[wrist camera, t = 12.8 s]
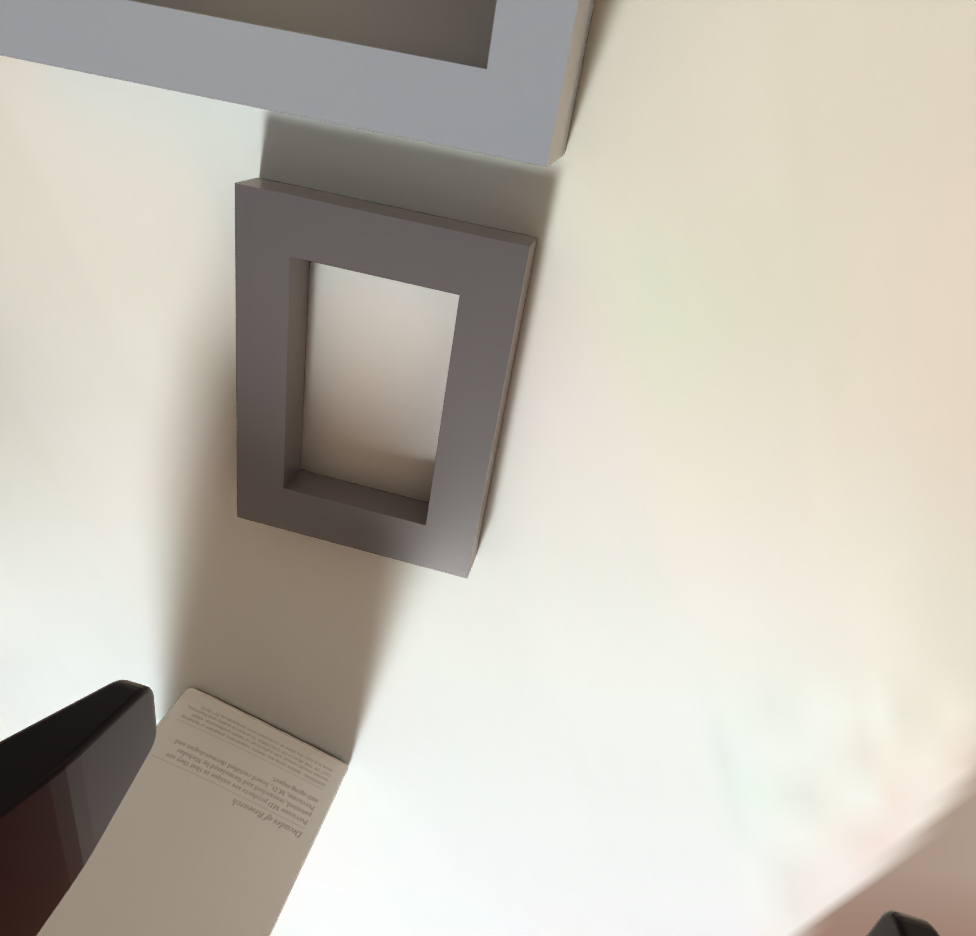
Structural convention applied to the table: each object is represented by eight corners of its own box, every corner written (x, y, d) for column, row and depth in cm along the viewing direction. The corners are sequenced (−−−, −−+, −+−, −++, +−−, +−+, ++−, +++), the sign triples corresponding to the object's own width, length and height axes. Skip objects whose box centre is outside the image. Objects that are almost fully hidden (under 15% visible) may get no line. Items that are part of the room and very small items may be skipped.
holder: (255, 498, 24) (237, 516, 23) (258, 177, 19) (234, 183, 18) (476, 556, 23) (467, 578, 22) (537, 237, 18) (529, 246, 17)
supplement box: (187, 679, 29) (-102, 1041, 18) (354, 762, 29) (169, 1171, 18) (154, 781, 33) (-103, 1133, 22) (302, 854, 33) (122, 1240, 22)
